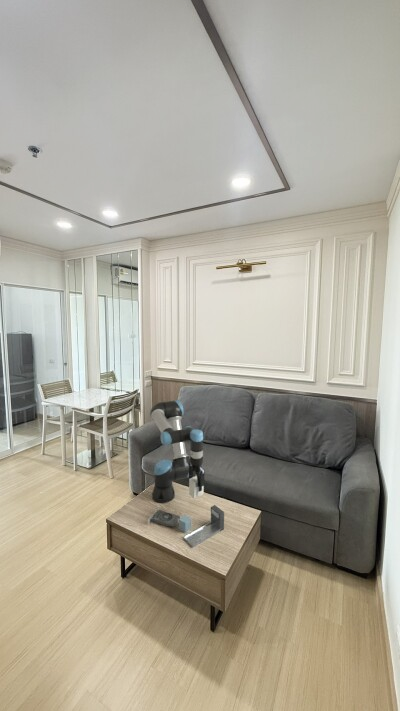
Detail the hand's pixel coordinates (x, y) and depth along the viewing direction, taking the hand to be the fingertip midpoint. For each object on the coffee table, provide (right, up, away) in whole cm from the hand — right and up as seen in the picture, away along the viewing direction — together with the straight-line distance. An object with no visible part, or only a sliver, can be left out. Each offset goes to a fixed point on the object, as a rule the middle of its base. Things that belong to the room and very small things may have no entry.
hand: (196, 493), depth 172 cm
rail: (+5, -16, -14) cm, 22 cm away
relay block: (-6, -15, -10) cm, 19 cm away
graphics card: (-19, -15, -4) cm, 25 cm away
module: (0, -1, 0) cm, 1 cm away
